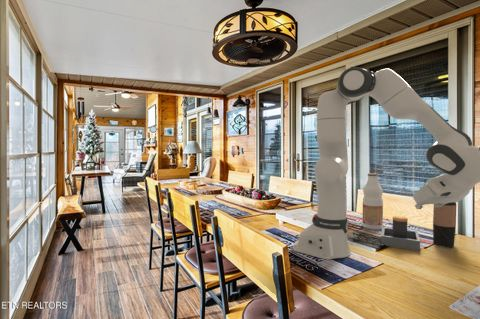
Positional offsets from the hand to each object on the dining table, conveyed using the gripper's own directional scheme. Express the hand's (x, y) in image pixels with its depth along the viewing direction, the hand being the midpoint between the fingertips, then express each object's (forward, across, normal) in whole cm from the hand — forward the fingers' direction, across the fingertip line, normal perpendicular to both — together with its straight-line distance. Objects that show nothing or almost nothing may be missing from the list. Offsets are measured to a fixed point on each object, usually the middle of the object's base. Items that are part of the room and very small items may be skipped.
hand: (426, 206), depth 106 cm
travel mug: (+17, -16, +9) cm, 25 cm away
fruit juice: (+38, -5, -11) cm, 39 cm away
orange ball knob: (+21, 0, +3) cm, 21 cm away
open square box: (+22, 0, +4) cm, 22 cm away
